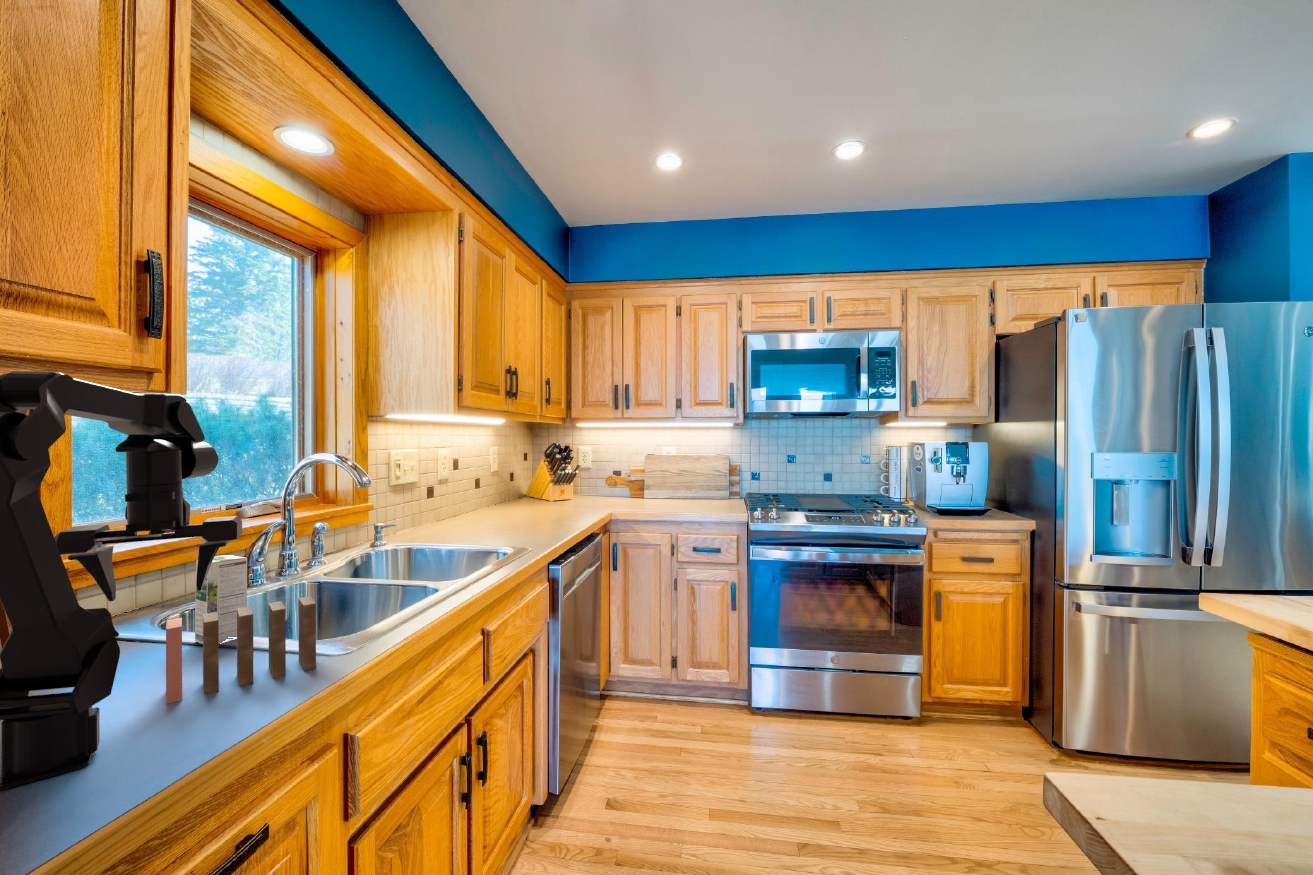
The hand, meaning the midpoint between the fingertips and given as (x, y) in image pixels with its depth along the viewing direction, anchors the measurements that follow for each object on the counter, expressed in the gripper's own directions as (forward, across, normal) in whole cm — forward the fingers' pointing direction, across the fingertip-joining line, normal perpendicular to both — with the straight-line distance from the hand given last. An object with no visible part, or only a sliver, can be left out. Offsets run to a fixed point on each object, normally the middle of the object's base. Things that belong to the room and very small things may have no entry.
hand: (157, 595), depth 76 cm
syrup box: (+14, -4, -21) cm, 26 cm away
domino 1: (+14, -2, +3) cm, 14 cm away
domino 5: (+14, -18, 0) cm, 22 cm away
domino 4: (+14, -14, +1) cm, 19 cm away
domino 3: (+14, -10, +1) cm, 17 cm away
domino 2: (+14, -6, +2) cm, 15 cm away
